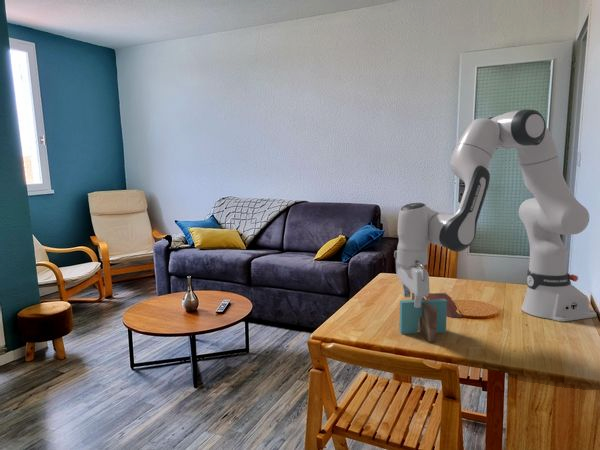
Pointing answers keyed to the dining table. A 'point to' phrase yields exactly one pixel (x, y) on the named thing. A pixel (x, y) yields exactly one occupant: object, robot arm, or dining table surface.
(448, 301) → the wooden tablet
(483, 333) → the dining table surface
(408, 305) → the teal slotted plate
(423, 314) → the walnut slotted plate
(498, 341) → the dining table surface
